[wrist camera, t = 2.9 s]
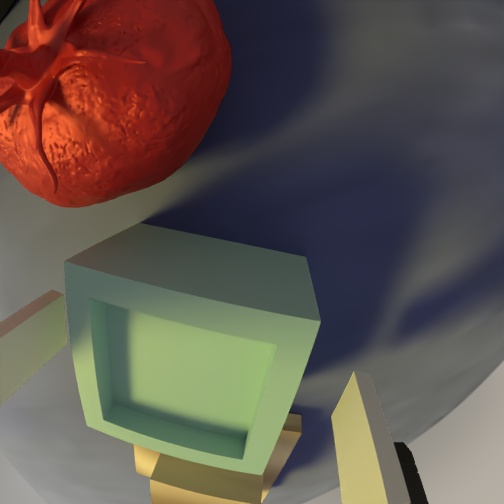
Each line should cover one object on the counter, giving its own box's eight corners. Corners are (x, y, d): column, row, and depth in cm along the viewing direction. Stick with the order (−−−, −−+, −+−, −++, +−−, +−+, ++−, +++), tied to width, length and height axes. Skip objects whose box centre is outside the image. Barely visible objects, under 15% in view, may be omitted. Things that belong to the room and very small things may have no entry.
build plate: (139, 376, 17) (102, 438, 12) (301, 415, 17) (303, 488, 12) (142, 459, 20) (120, 509, 15) (262, 488, 20) (257, 543, 15)
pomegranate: (284, 102, 13) (305, 6, 4) (122, 235, 15) (-12, 322, 6) (161, -24, 11) (79, -127, 2) (31, 104, 13) (-99, 99, 4)
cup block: (140, 222, 15) (64, 261, 9) (305, 255, 14) (320, 321, 8) (135, 355, 17) (87, 425, 11) (269, 387, 17) (261, 475, 11)
